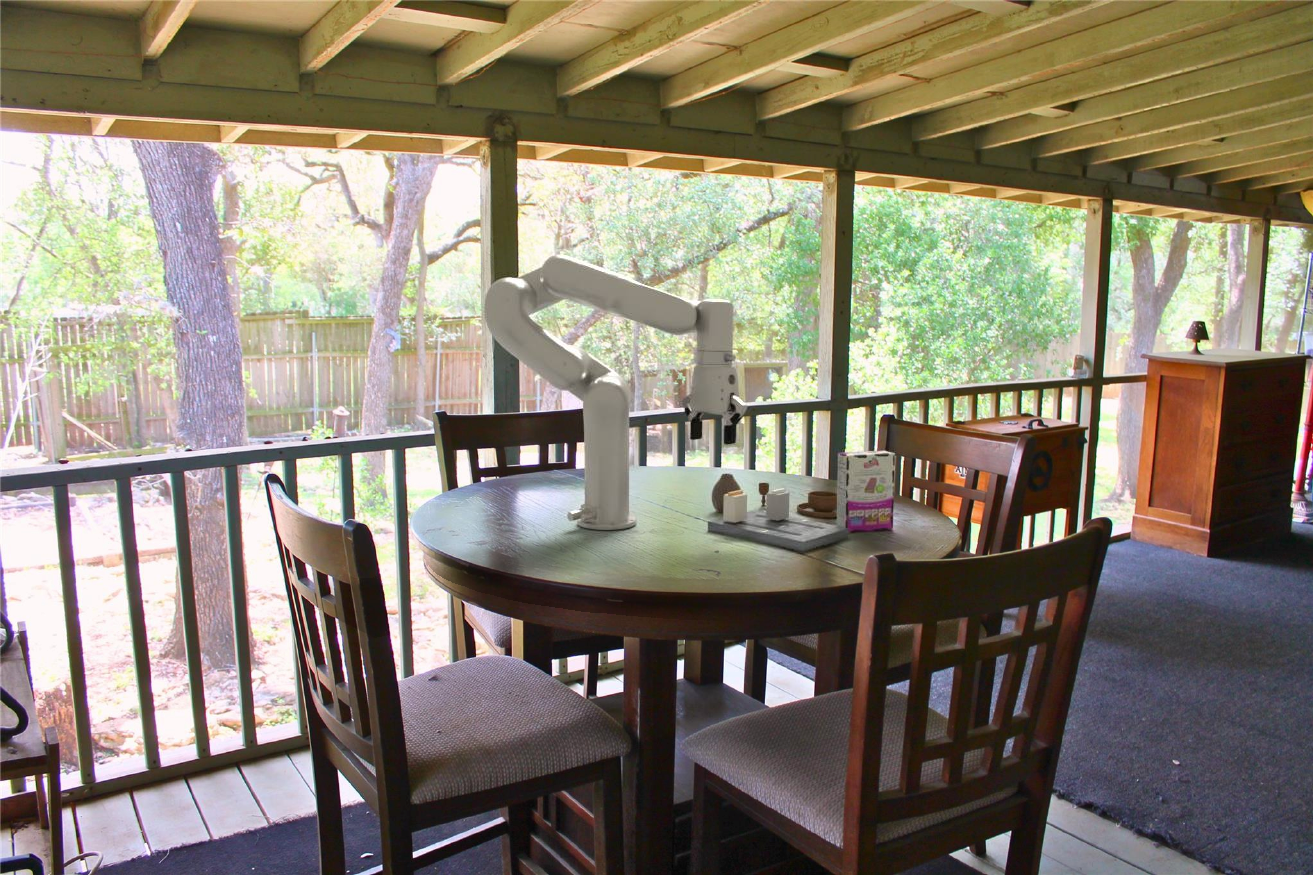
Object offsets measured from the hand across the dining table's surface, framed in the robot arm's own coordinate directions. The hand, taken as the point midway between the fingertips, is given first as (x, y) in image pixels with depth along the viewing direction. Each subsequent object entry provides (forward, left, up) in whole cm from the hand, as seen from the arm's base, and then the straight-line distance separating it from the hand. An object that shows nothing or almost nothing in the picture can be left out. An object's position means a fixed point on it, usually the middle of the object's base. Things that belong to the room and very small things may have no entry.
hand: (712, 441), depth 192 cm
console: (+4, -15, -18) cm, 24 cm away
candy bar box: (+21, -25, -18) cm, 37 cm away
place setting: (+29, -5, -19) cm, 35 cm away
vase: (+13, +6, -18) cm, 23 cm away
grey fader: (+8, -12, -16) cm, 21 cm away
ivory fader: (0, -7, -16) cm, 17 cm away
